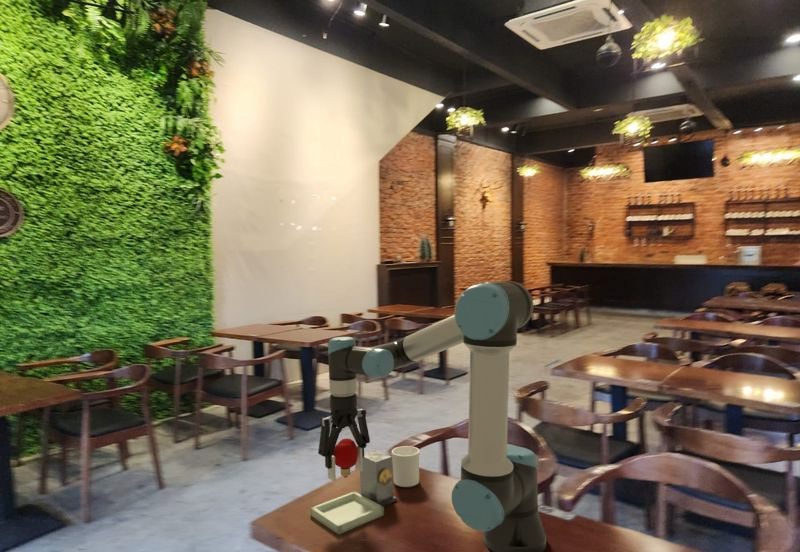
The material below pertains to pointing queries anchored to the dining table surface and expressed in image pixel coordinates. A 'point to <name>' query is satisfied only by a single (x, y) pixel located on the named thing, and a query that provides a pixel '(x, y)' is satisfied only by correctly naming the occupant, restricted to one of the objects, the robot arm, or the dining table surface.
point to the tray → (347, 512)
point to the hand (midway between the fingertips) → (345, 474)
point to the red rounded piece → (345, 455)
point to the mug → (406, 466)
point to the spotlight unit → (377, 478)
